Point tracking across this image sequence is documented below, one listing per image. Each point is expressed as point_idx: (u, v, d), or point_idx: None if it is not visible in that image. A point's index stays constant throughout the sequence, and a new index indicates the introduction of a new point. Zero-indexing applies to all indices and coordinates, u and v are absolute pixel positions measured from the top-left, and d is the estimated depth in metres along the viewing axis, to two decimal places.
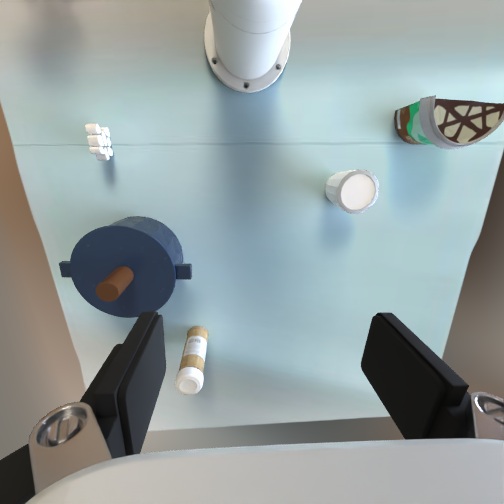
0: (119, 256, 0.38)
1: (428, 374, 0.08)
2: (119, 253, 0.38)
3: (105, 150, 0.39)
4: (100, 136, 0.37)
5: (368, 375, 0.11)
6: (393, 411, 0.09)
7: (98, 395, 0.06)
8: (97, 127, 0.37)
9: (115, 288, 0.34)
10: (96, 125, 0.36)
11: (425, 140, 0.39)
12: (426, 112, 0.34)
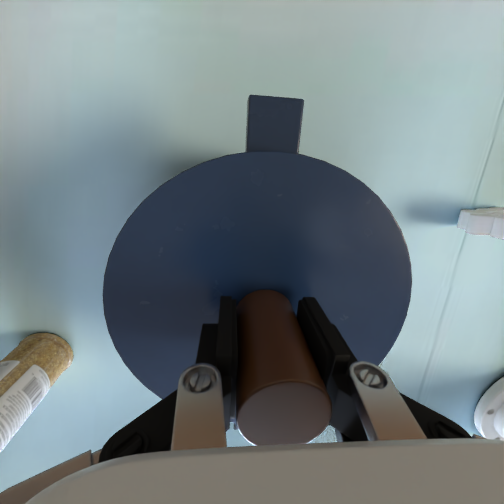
0: None
1: (322, 347, 0.09)
2: (330, 311, 0.13)
3: None
4: None
5: None
6: None
7: (219, 357, 0.08)
8: None
9: (297, 441, 0.08)
10: None
11: None
12: None
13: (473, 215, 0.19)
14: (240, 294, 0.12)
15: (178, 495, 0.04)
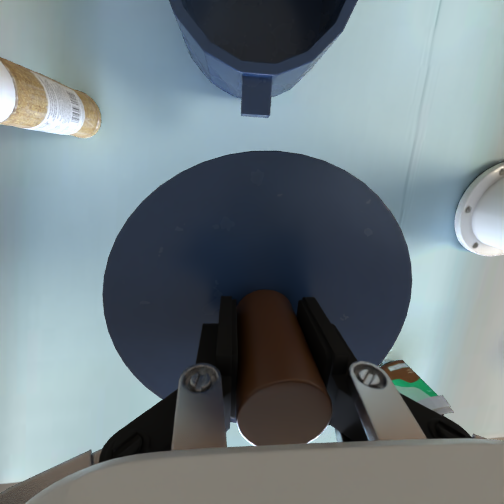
0: None
1: (322, 346, 0.09)
2: (330, 311, 0.13)
3: None
4: None
5: None
6: None
7: (220, 357, 0.08)
8: None
9: (298, 441, 0.08)
10: None
11: None
12: (435, 406, 0.33)
13: None
14: (240, 294, 0.12)
15: (178, 495, 0.04)
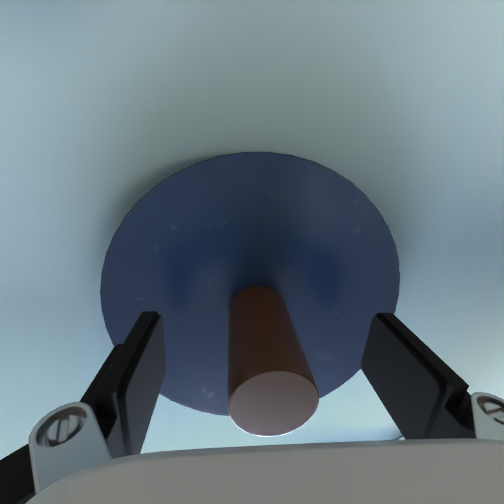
0: (313, 305, 0.13)
1: (428, 374, 0.08)
2: (321, 306, 0.13)
3: None
4: None
5: (368, 375, 0.11)
6: (393, 411, 0.09)
7: (98, 395, 0.06)
8: None
9: (287, 428, 0.08)
10: None
11: None
12: None
13: None
14: (234, 290, 0.13)
15: (178, 495, 0.04)
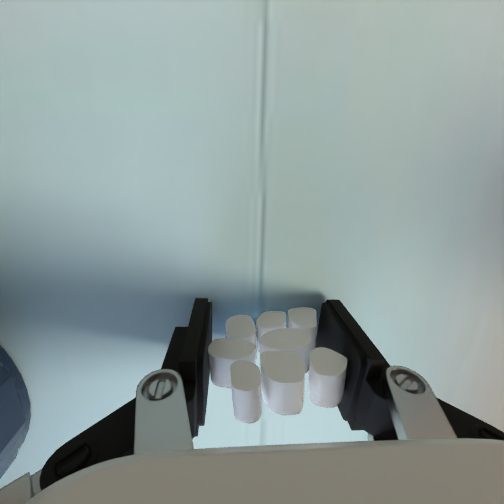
0: None
1: (355, 351, 0.09)
2: None
3: None
4: None
5: None
6: None
7: (183, 363, 0.07)
8: None
9: None
10: None
11: None
12: None
13: (211, 347, 0.10)
14: None
15: (178, 495, 0.04)
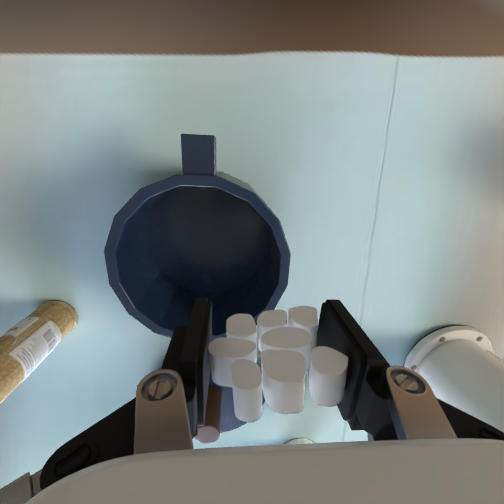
0: (232, 391, 0.35)
1: (354, 351, 0.09)
2: None
3: None
4: None
5: None
6: None
7: (183, 363, 0.07)
8: None
9: (211, 441, 0.30)
10: None
11: None
12: None
13: (212, 346, 0.10)
14: None
15: (178, 495, 0.04)
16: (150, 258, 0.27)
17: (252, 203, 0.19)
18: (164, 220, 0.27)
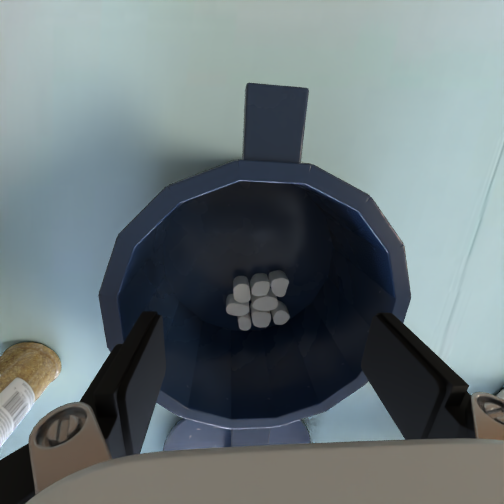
0: None
1: (428, 374, 0.08)
2: None
3: None
4: None
5: (368, 375, 0.11)
6: (393, 411, 0.09)
7: (98, 395, 0.06)
8: None
9: None
10: None
11: None
12: None
13: (227, 308, 0.19)
14: None
15: (178, 495, 0.04)
16: (166, 286, 0.19)
17: (364, 214, 0.11)
18: (187, 232, 0.18)
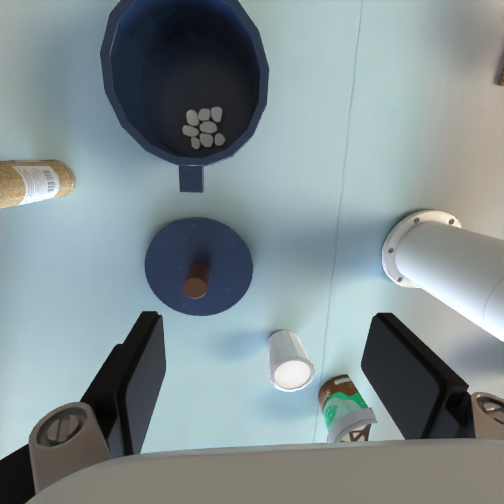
0: (220, 269, 0.37)
1: (428, 374, 0.08)
2: (223, 269, 0.37)
3: None
4: None
5: (368, 375, 0.11)
6: (393, 411, 0.09)
7: (98, 395, 0.06)
8: None
9: (198, 296, 0.32)
10: None
11: (331, 413, 0.43)
12: (362, 417, 0.38)
13: (183, 130, 0.30)
14: (191, 262, 0.36)
15: (178, 495, 0.04)
16: (143, 112, 0.29)
17: (234, 8, 0.21)
18: (156, 76, 0.29)
